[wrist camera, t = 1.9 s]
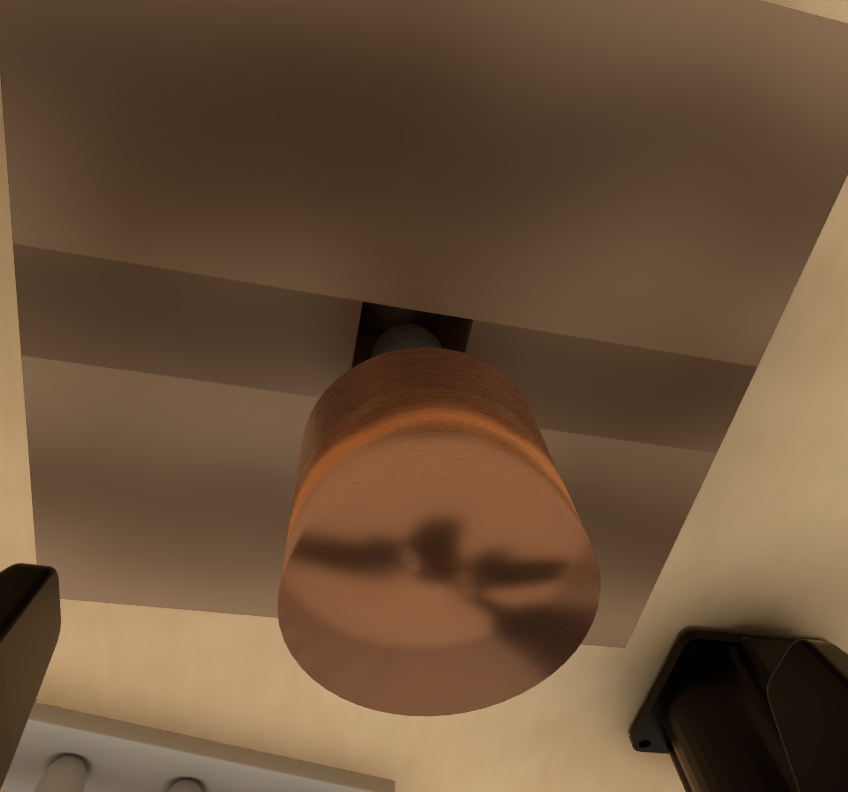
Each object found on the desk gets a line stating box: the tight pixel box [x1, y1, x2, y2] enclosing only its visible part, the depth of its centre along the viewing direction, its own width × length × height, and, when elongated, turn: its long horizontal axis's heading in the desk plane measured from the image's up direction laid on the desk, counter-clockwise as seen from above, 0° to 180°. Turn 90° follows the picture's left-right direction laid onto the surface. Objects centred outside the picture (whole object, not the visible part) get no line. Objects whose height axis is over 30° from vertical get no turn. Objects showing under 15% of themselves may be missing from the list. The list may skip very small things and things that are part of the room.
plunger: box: [277, 324, 601, 716], centre depth 12 cm, size 4×4×8 cm
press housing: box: [0, 0, 848, 648], centre depth 16 cm, size 16×16×4 cm
